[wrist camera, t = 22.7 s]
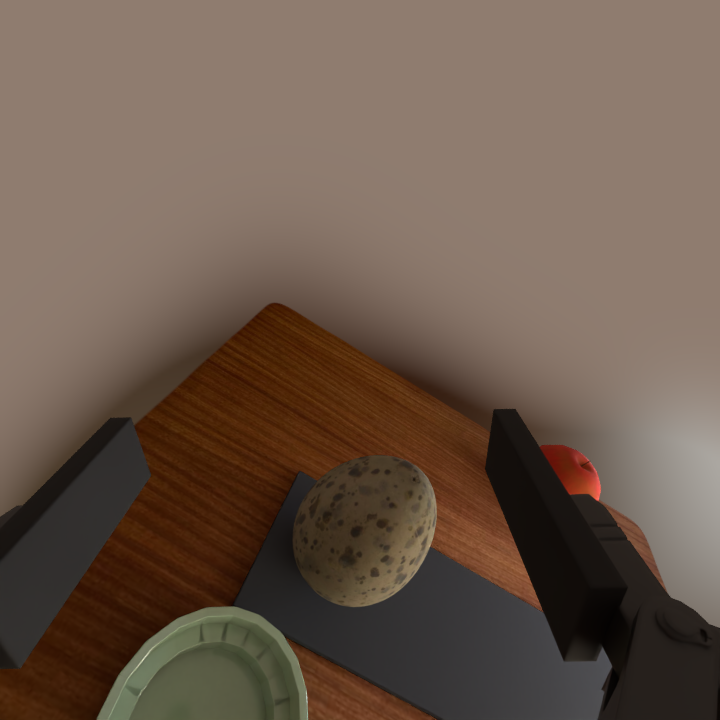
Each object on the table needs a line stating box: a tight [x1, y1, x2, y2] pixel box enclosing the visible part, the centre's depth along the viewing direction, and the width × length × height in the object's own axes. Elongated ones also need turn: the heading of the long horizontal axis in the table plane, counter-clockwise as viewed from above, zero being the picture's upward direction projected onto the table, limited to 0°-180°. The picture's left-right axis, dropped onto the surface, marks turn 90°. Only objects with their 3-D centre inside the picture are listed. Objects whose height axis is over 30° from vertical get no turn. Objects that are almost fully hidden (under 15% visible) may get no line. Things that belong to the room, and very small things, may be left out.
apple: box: [540, 445, 601, 501], centre depth 55 cm, size 10×10×12 cm
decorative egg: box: [293, 455, 437, 607], centre depth 33 cm, size 11×11×15 cm
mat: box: [232, 471, 612, 720], centre depth 38 cm, size 48×14×1 cm, turn 74°
